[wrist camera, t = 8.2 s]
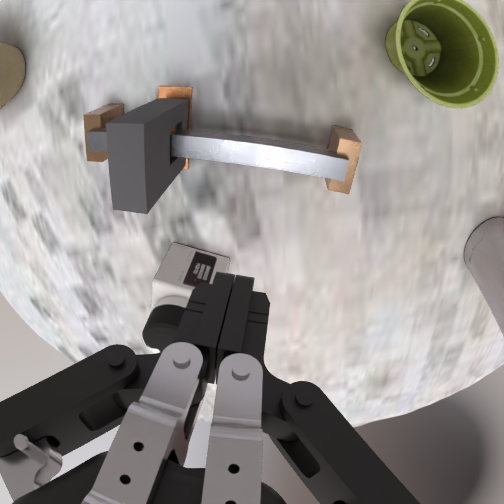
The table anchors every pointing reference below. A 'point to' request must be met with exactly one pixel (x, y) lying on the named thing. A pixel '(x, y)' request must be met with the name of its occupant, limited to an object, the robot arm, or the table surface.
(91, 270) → the table surface
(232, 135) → the rail
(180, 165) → the collar
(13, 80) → the plant pot
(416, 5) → the plant pot
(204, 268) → the container
